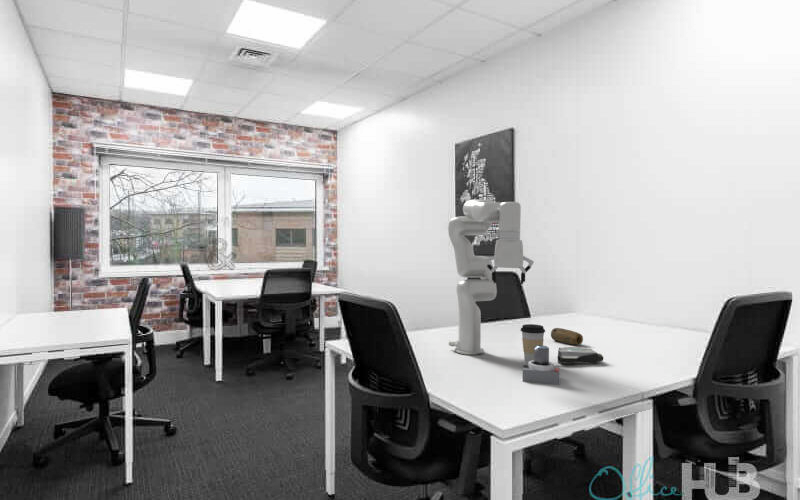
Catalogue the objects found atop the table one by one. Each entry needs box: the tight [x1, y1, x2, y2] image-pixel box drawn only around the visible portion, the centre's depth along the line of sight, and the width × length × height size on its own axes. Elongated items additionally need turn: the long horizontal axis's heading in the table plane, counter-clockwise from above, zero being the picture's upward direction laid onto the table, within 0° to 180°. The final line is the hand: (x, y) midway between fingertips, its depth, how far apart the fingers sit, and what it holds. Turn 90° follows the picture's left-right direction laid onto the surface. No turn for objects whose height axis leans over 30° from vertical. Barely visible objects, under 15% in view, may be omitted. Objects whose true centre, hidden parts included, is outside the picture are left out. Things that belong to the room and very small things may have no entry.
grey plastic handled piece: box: [557, 346, 604, 365], centre depth 192 cm, size 16×20×5 cm
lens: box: [534, 344, 550, 366], centre depth 165 cm, size 5×5×7 cm
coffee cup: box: [520, 323, 546, 363], centre depth 186 cm, size 9×9×15 cm
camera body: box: [522, 360, 560, 385], centre depth 165 cm, size 12×9×6 cm
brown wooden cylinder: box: [550, 327, 584, 346], centre depth 226 cm, size 15×7×7 cm, turn 36°
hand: (508, 283), depth 172 cm, fingers open, 9 cm apart
